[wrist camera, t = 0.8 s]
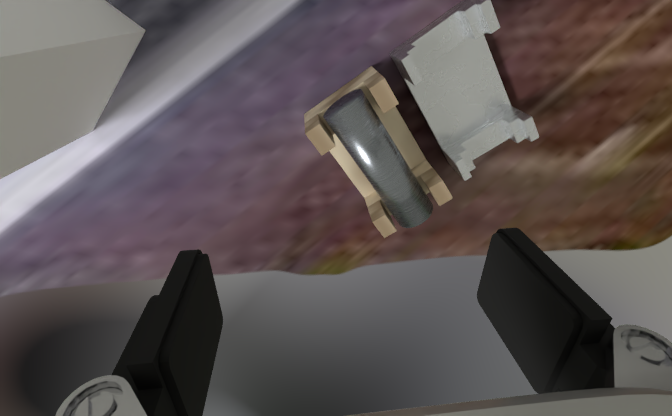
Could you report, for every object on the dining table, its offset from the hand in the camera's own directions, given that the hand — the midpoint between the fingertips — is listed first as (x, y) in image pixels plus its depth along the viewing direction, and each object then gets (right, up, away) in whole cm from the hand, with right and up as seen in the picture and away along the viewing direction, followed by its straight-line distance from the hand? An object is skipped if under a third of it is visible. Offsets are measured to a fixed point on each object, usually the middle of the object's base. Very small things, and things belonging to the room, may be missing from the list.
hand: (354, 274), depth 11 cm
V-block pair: (+12, +14, +24) cm, 30 cm away
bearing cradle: (+3, +9, +26) cm, 28 cm away
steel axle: (+4, +7, +23) cm, 25 cm away
